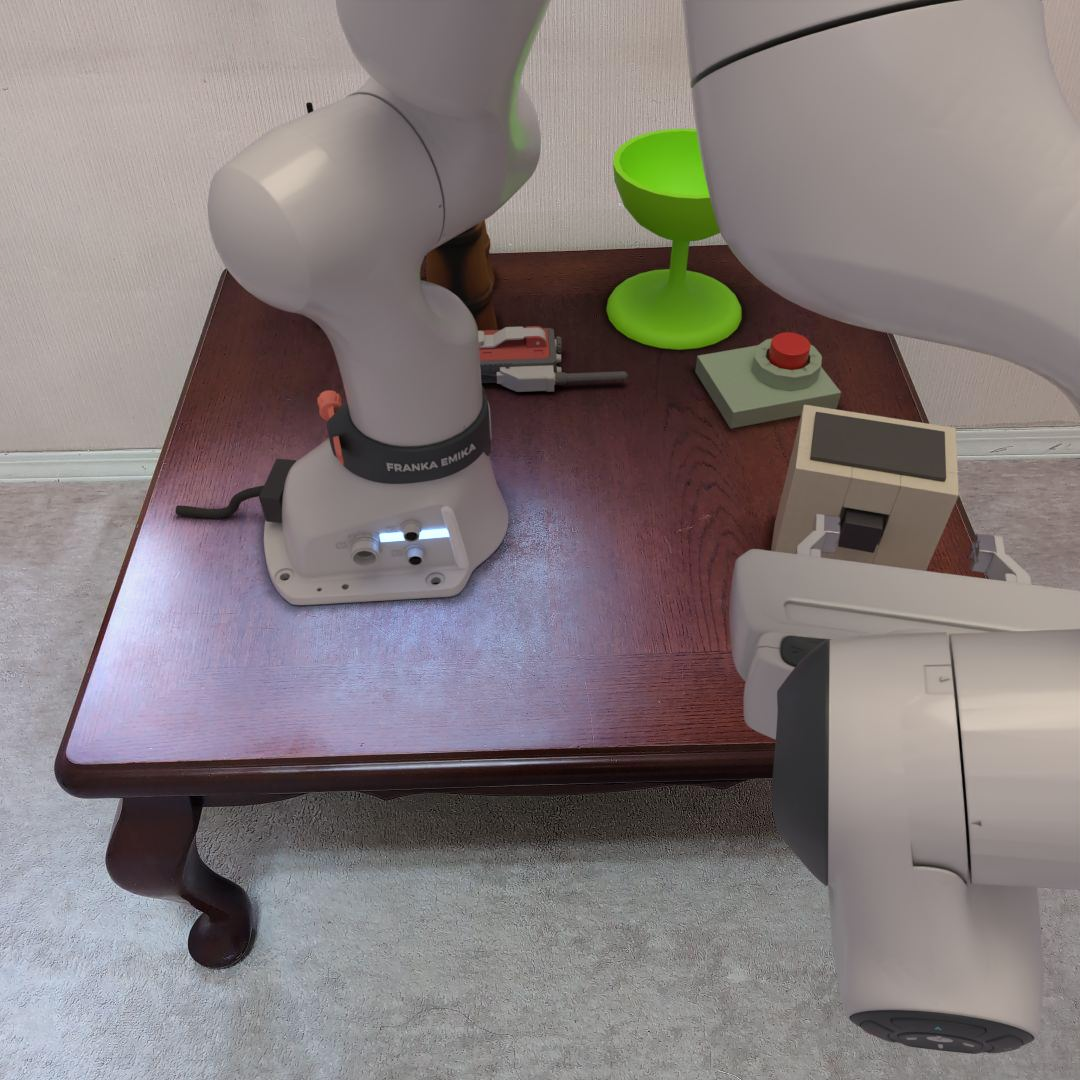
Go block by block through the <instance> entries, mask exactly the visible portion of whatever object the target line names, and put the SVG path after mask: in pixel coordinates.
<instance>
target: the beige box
mask: <svg viewBox="0 0 1080 1080" xmlns="http://www.w3.org/2000/svg"><path fill="white" fill-rule="evenodd" d="M791 451H792V452H791V455H790V459H789V463H788V467H787V472H786V475H785V480H784V483H783V486H782V487H783V488H782V490H781V491H782V492H781V495H780V500H779V504H778V508H777V513H776V516H775V521H774V527H773V534H772V539H771V540H772V541H771V548H770V551H775V552H783V553H791V554H796V549H797V546H798V545H799V544H800V543H801V542H802V541H803V540H804V539H805V538H806V537H807V536H808V535H809V534H811V533H812V527H813V523H814V519H815V515H816V514H821V515H829V516H836V517H840V524H839V525H840V526H841V522H842V519H843V516H844V513H845V510H846V508H852V509H858V510H864V511H869V512H875V513H881V514H883V529H882V532H881V535H880V538H879V540H878V543H877V546H876V549H875V551H874V553H871V552H865V551H860V550H854V549H849V548H843V547H838V542H837V548H836V551H835V554H834V553H824V552H822V553H821V557H822V558H829V559H837V560H845V561H853V562H860V563H868V564H876V565H884V566H891V567H899V568H907V569H915V570H922V571H928V570H927V569H928V567H929V565H930V563H931V561H932V558H933V555H934V553H935V552H936V549H937V547H938V544H939V542H940V539H941V537H942V535H943V532H944V530H945V529H946V526H947V524H948V522H949V519H950V517H951V515H952V512H953V510H954V507H955V505H956V503H957V500H958V499H959V496H960V492H959V468H958V445H957V428H956V427H954V426H953V427H952V426H946V425H939V424H933V423H926V422H920V421H913V420H907V419H901V418H895V417H887V416H881V415H876V414H875V415H874V414H870V413H869V414H867V413H861V412H855V411H848V410H843V409H842V410H841V409H830V408H823V407H817V406H810V405H803V409H802V413H801V415H800V418H799V422H798V427H797V429H796V434H795V439H794V443H793V447H792V449H791Z"/></svg>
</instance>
